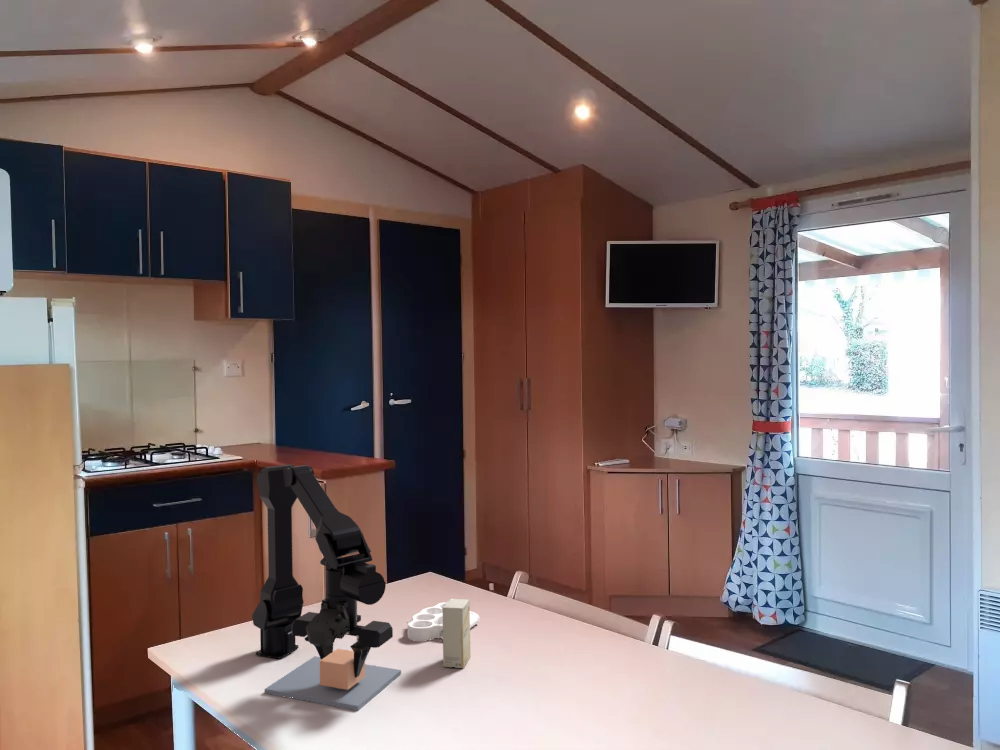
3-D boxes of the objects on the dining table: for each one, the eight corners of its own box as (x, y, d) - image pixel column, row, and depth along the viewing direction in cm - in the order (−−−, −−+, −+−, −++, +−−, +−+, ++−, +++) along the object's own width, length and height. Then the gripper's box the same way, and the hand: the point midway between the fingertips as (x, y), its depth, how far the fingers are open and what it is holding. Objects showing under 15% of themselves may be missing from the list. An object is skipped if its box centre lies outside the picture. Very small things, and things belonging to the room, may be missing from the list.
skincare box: (463, 669, 148) (463, 608, 148) (442, 667, 149) (441, 607, 149) (471, 656, 154) (470, 598, 154) (450, 655, 155) (450, 597, 155)
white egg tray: (450, 649, 160) (392, 639, 165) (485, 621, 176) (431, 613, 182) (450, 633, 160) (392, 624, 165) (485, 607, 176) (431, 599, 182)
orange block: (319, 684, 138) (319, 660, 137) (337, 671, 143) (337, 648, 143) (347, 689, 135) (347, 665, 135) (365, 676, 141) (364, 652, 141)
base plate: (264, 693, 138) (264, 673, 138) (314, 660, 153) (314, 641, 153) (358, 710, 131) (357, 689, 131) (401, 674, 146) (400, 654, 146)
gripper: (272, 599, 134) (273, 684, 135) (362, 611, 128) (363, 701, 128) (308, 581, 145) (309, 661, 145) (393, 592, 138) (394, 674, 139)
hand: (342, 674), depth 139 cm, fingers closed on orange block, 6 cm apart
